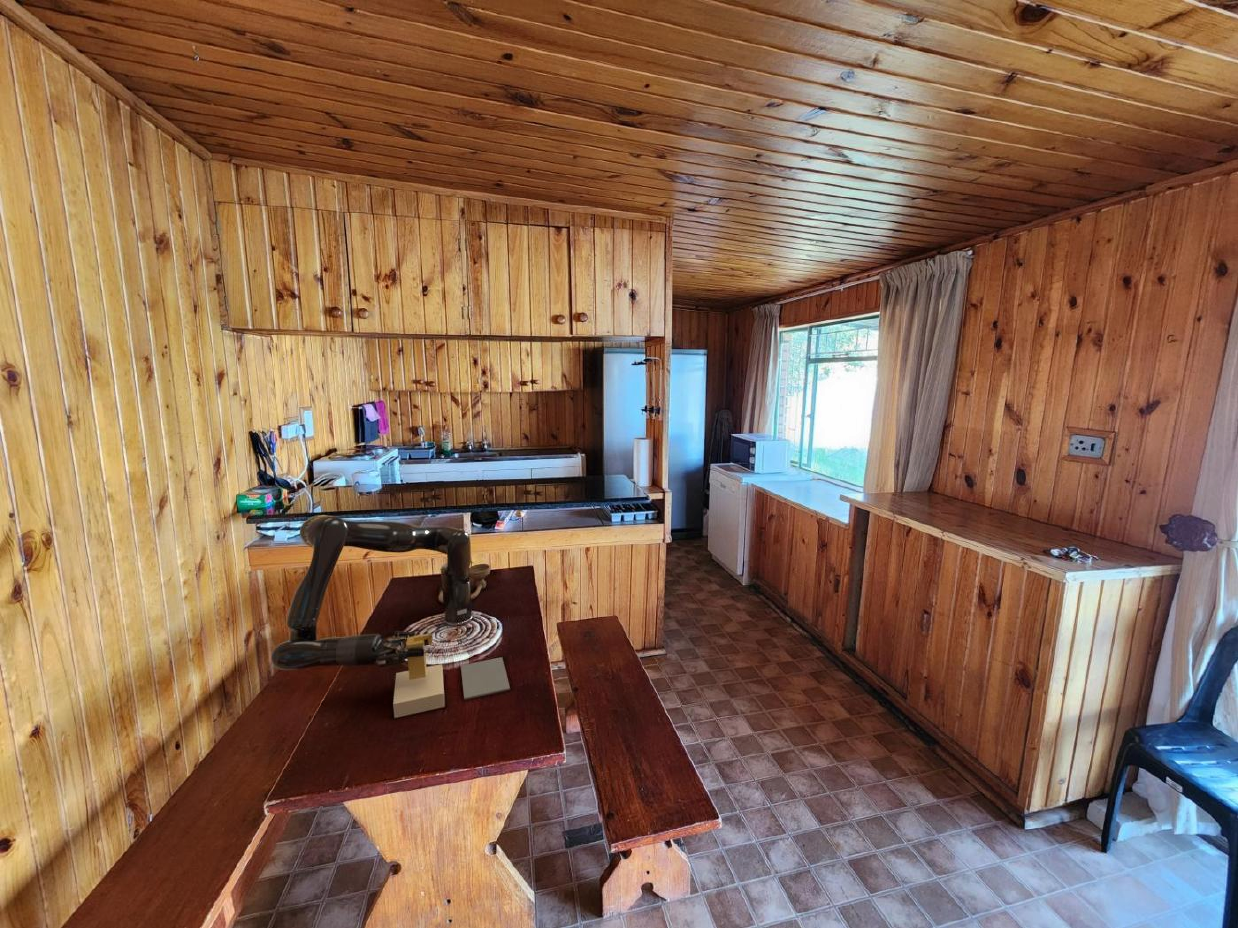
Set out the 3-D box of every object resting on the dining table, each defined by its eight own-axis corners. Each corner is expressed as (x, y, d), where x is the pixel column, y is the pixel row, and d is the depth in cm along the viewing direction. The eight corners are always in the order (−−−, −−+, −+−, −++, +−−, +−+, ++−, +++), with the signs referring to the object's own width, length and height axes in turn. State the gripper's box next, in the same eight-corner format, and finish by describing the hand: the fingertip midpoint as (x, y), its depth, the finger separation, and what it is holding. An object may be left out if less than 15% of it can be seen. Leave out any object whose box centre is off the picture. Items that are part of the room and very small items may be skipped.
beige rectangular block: (397, 685, 140) (396, 672, 139) (443, 676, 144) (442, 663, 143) (394, 718, 127) (393, 703, 126) (444, 706, 131) (443, 693, 131)
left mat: (460, 667, 149) (460, 665, 149) (502, 658, 153) (502, 656, 153) (464, 700, 134) (464, 698, 134) (510, 689, 138) (509, 687, 138)
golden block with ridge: (410, 671, 136) (407, 633, 134) (435, 667, 138) (432, 630, 135) (409, 679, 132) (405, 641, 130) (434, 675, 134) (431, 637, 132)
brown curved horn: (434, 610, 186) (486, 604, 187) (430, 588, 184) (483, 582, 186) (449, 583, 209) (496, 577, 211) (446, 563, 208) (493, 558, 209)
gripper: (346, 652, 124) (417, 647, 126) (368, 622, 138) (433, 619, 140) (349, 679, 125) (420, 675, 127) (371, 647, 139) (435, 644, 141)
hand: (426, 646), depth 133 cm, fingers closed on golden block with ridge, 4 cm apart
